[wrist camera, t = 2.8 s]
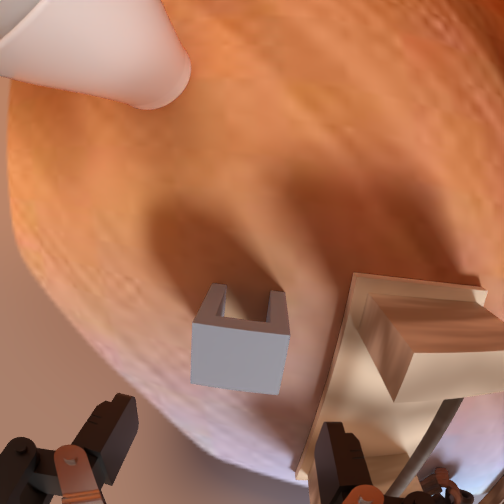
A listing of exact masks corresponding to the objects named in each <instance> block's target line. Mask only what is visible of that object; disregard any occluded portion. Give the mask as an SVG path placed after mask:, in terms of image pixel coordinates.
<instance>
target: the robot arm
mask: <svg viewBox="0 0 504 504" xmlns="http://www.w3.org/2000/svg"><path fill="white" fill-rule="evenodd" d="M138 424H139V422H138V415H137V407H136V400H135V397H133V396H129V395H125V394H121V393H117V394H116V395H115V397H114V399H113V400H112V402H108V401H104V402H103V403H101V404H99V405H98V406H96V408H95V409H94V411H93V412H92V414H91V416H90V417H89V418H88V420H87V422H86V423H85V424H84V426H83V427H82V429H81V430H80V432H79V433H78V435H77V436H76V438H75V439H74V441H73V442H72V444H71V445H64V446H61V447H59V448H58V449H57V450H56V451H53V450H46V449H40V448H36V446H35V444H34V442H33V441H32V440H30V439H28V438H25V437H17V438H14V439H12V440H11V441H10V442H9V443H8V444H7V446H6V447H5V449H4V450H3V452H2V453H1V454H0V504H50V502H51V499H52V498H53V496H54V495H58V496H63V498H62V504H106V502H105V499H104V497H103V494H102V491H101V488H102V486H103V484H104V483H105V484H108V485H111V486H112V485H113V483H114V481H115V479H116V476H117V474H118V472H119V470H120V468H121V466H122V463H123V461H124V459H125V457H126V455H127V453H128V451H129V448H130V446H131V444H132V442H133V440H134V438H135V436H136V434H137V430H138ZM314 458H315V465H316V472H317V479H318V486H319V493H320V501H321V504H435V501H434V499H433V498H432V496H431V495H429V494H428V493H426V492H423V491H415V492H411V493H409V494H408V495H407V496H406V497H405V498H400V497H392V496H386V495H383V493H382V492H381V491H380V490H379V489H378V488H377V487H375V486H373V484H372V481H371V477H370V474H369V471H368V467H367V464H366V461H365V459H364V454H363V451H362V448H361V444H360V441H359V440H358V439H357V437H356V436H355V435H354V434H353V433H345V430H344V426H343V423H342V422H324V423H323V425H322V428H321V430H320V433H319V436H318V439H317V442H316V445H315V450H314Z"/></svg>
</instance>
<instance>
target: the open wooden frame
mask: <svg viewBox="0 0 504 504" xmlns="http://www.w3.org/2000/svg"><path fill="white" fill-rule="evenodd" d="M478 504H504V476H503V477H502V478H501V479H500V480H499V481H498V483H497V484H496V485H495V486H494V487H493V488H492V489H491V491H490V492H489V493H488V494H487V495H486V496H485V497H484V498H483V499H482V500H481V501H480V502H479V503H478Z"/></svg>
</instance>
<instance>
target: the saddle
mask: <svg viewBox="0 0 504 504" xmlns="http://www.w3.org/2000/svg"><path fill="white" fill-rule="evenodd" d="M226 290H227V285H224V284H216V283H212V285H211V287H210V289H209V291H208V293H207V295H206V297H205V299H204V301H203V303H202V305H201V307H200V309H199V311H198V313H197V315H196V317H195V319H194V321H193V323H192V348H191V384H197V385H203V386H209V387H215V388H222V389H229V390H236V391H244V392H253V393H262V394H271V395H278V394H279V389H280V385H281V380H282V375H283V370H284V365H285V360H286V355H287V350H288V345H289V340H290V328H289V320H288V312H287V304H286V296H285V292H279V291H270V298H269V304H268V311H267V318H266V322H259V321H251V320H243V319H236V318H228V317H224V311H225V300H226Z"/></svg>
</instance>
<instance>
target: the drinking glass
mask: <svg viewBox="0 0 504 504" xmlns="http://www.w3.org/2000/svg"><path fill="white" fill-rule="evenodd" d="M190 75H191V61H190V57H189V55H188V53H187V51H186V50H185V48H184V47H183V45H182V44H181V42H180V40H179V38H178V36H177V34H176V31H175V29H174V27H173V25H172V23H171V21H170V19H169V16H168V14H167V12H166V10H165V8H164V6H163V3H162V1H161V0H0V76H2V77H6V78H9V79H13V80H17V81H21V82H25V83H29V84H34V85H38V86H43V87H48V88H54V89H59V90H65V91H70V92H76V93H81V94H86V95H91V96H95V97H100V98H104V99H109V100H113V101H117V102H121V103H124V104H127V105H129V106H132V107H134V108H137V109H142V110H153V109H158V108H161V107H163V106H166V105H168V104H169V103H171V102H172V101H174V100H175V99H176V98H177V97H178V96H179V95H180V94H181V93H182V92H183V90H184V89H185V87H186V86H187V84H188V82H189V79H190Z"/></svg>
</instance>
